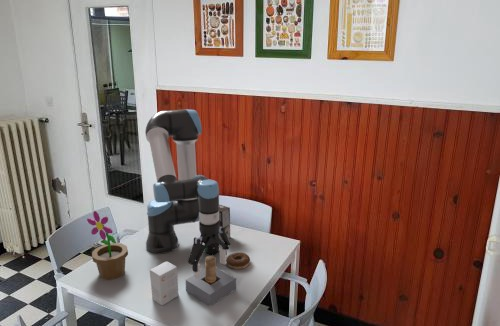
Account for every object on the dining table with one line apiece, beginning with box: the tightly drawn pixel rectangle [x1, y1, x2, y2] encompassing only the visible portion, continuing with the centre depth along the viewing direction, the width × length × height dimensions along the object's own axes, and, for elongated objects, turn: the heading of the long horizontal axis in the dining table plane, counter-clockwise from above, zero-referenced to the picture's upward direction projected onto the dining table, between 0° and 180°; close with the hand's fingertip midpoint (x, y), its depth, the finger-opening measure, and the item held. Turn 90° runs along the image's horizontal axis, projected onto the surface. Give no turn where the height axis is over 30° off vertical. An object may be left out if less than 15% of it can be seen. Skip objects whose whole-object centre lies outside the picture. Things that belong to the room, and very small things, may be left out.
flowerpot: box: [86, 210, 129, 280], centre depth 159 cm, size 14×14×30 cm
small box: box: [149, 261, 179, 306], centre depth 146 cm, size 8×6×13 cm
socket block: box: [185, 267, 237, 307], centre depth 152 cm, size 14×14×5 cm
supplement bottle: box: [203, 235, 220, 256], centre depth 178 cm, size 7×7×12 cm
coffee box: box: [218, 204, 231, 242], centre depth 192 cm, size 9×6×16 cm
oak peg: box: [204, 255, 217, 285], centre depth 151 cm, size 4×4×14 cm
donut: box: [226, 251, 251, 270], centre depth 170 cm, size 11×11×4 cm
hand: (210, 270), depth 150 cm, fingers open, 13 cm apart
